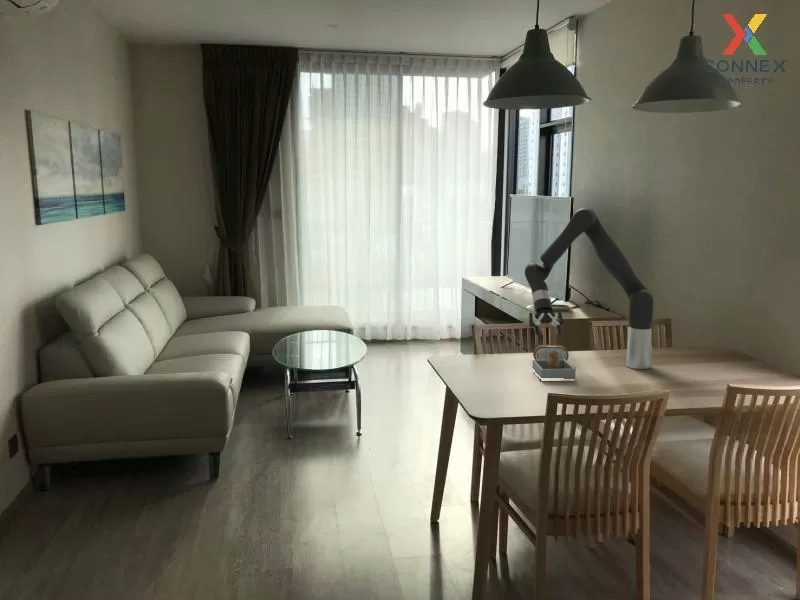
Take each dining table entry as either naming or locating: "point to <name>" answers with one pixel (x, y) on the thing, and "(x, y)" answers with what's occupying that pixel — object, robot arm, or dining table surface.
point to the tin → (543, 351)
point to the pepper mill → (553, 360)
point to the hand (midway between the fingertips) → (548, 334)
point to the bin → (563, 371)
